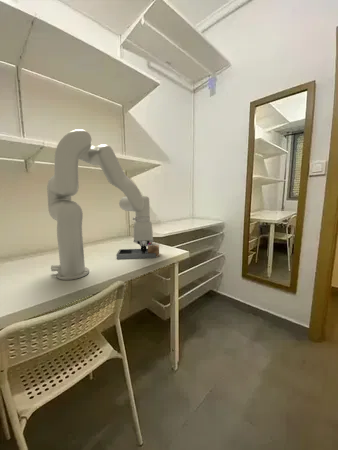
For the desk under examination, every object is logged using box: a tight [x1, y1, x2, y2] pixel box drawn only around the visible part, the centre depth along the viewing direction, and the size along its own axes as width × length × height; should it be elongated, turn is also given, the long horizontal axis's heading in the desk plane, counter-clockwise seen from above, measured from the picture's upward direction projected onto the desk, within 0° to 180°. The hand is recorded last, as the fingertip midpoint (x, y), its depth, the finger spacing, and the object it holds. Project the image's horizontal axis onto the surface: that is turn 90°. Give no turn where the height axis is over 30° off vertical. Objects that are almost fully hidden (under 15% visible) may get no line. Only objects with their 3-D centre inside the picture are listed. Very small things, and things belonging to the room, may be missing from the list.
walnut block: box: [147, 244, 160, 258], centre depth 116 cm, size 6×5×5 cm
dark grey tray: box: [115, 248, 157, 260], centre depth 115 cm, size 20×10×2 cm, turn 94°
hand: (143, 252), depth 116 cm, fingers closed
